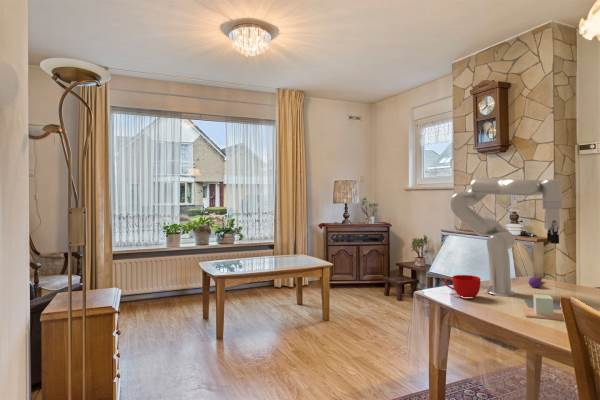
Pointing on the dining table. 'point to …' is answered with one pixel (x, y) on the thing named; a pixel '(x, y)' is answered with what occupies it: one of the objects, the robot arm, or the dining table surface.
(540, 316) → the set down board
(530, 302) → the mat
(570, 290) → the dining table surface
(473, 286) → the ceramic cup
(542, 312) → the block
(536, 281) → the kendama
